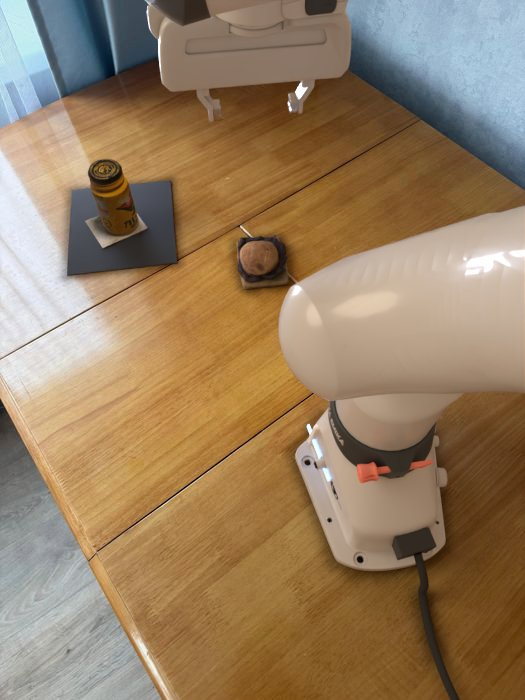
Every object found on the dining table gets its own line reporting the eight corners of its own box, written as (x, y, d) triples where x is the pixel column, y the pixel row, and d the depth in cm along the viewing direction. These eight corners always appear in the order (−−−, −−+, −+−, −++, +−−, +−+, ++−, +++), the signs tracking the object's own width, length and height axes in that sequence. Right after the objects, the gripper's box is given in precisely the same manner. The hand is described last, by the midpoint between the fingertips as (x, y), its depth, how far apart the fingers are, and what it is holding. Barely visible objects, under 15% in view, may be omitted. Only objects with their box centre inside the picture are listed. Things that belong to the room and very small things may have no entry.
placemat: (177, 263, 88) (176, 262, 88) (67, 275, 87) (66, 274, 86) (170, 180, 98) (170, 180, 98) (72, 190, 97) (71, 189, 97)
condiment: (147, 228, 92) (133, 173, 81) (102, 248, 89) (82, 194, 79) (129, 203, 95) (113, 147, 85) (85, 222, 92) (63, 166, 82)
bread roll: (291, 286, 86) (292, 271, 82) (239, 290, 85) (238, 276, 82) (282, 237, 91) (283, 221, 88) (233, 241, 90) (233, 225, 87)
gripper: (143, 9, 48) (167, 140, 60) (365, -7, 49) (345, 123, 61) (142, -25, 51) (164, 105, 63) (350, -40, 52) (333, 91, 64)
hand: (255, 114), depth 62 cm, fingers open, 8 cm apart
